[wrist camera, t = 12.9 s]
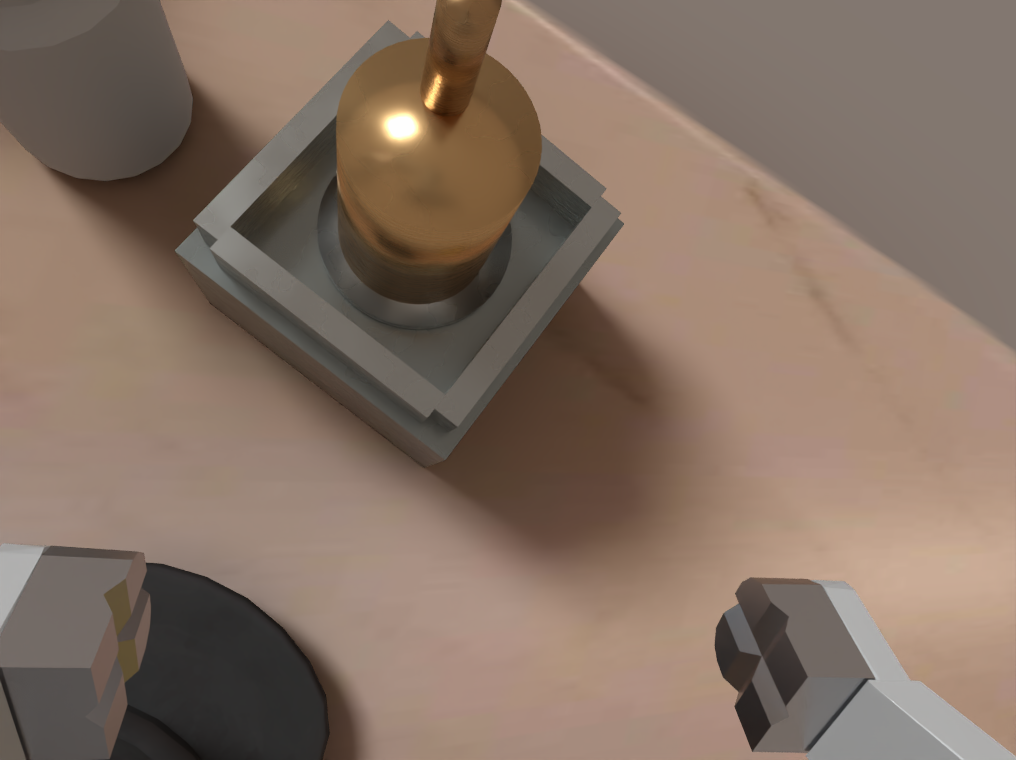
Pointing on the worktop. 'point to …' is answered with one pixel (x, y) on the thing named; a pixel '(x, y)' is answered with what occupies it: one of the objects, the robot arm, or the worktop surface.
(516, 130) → the spout can
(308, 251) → the grey square box
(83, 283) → the worktop surface
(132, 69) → the can
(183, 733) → the casserole
